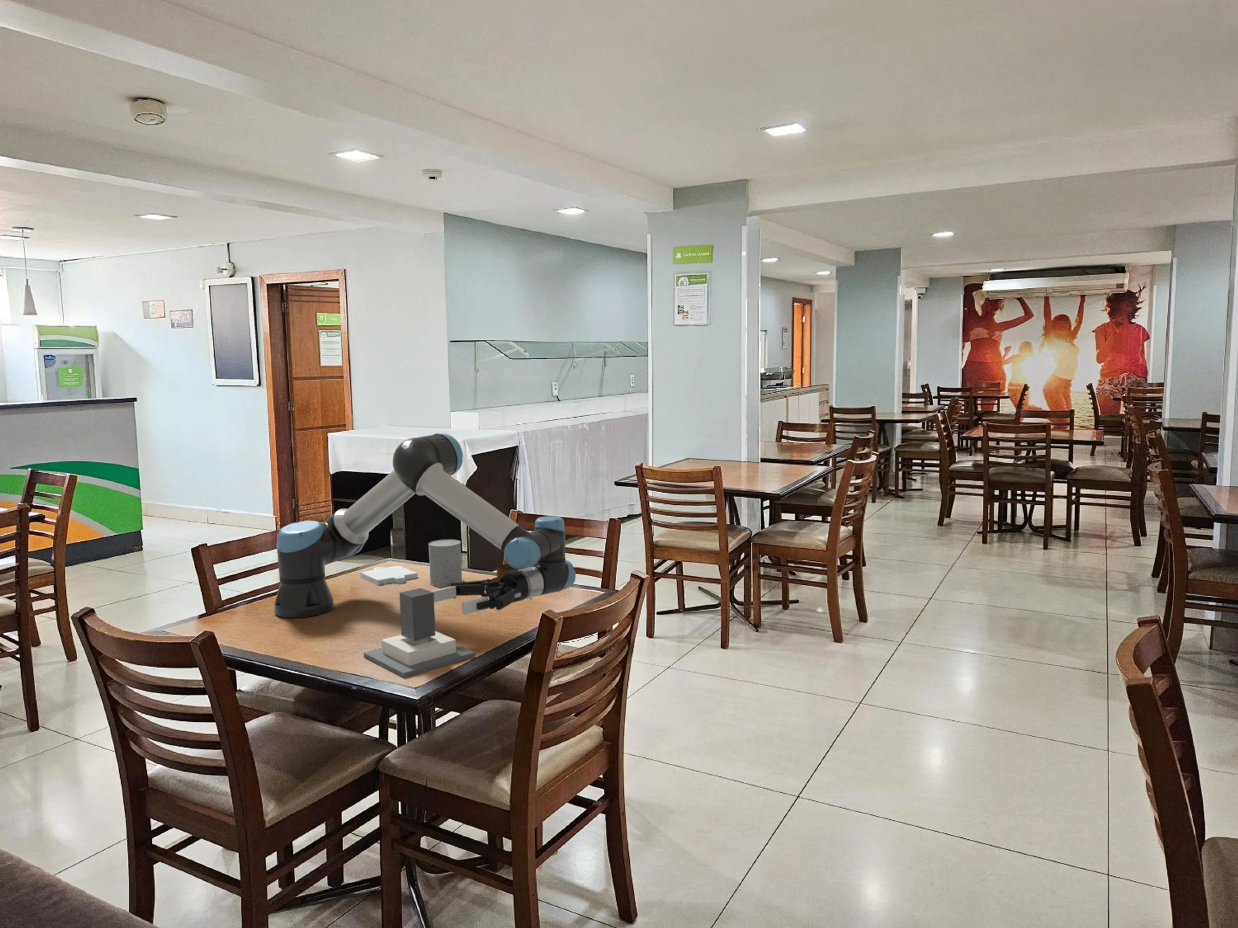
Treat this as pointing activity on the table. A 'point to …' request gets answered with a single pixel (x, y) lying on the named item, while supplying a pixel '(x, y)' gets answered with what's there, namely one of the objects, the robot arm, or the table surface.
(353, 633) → the table surface
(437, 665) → the socket
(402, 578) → the mounting plate
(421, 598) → the plug
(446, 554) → the grey cylinder
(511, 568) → the cup and saucer
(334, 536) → the robot arm
